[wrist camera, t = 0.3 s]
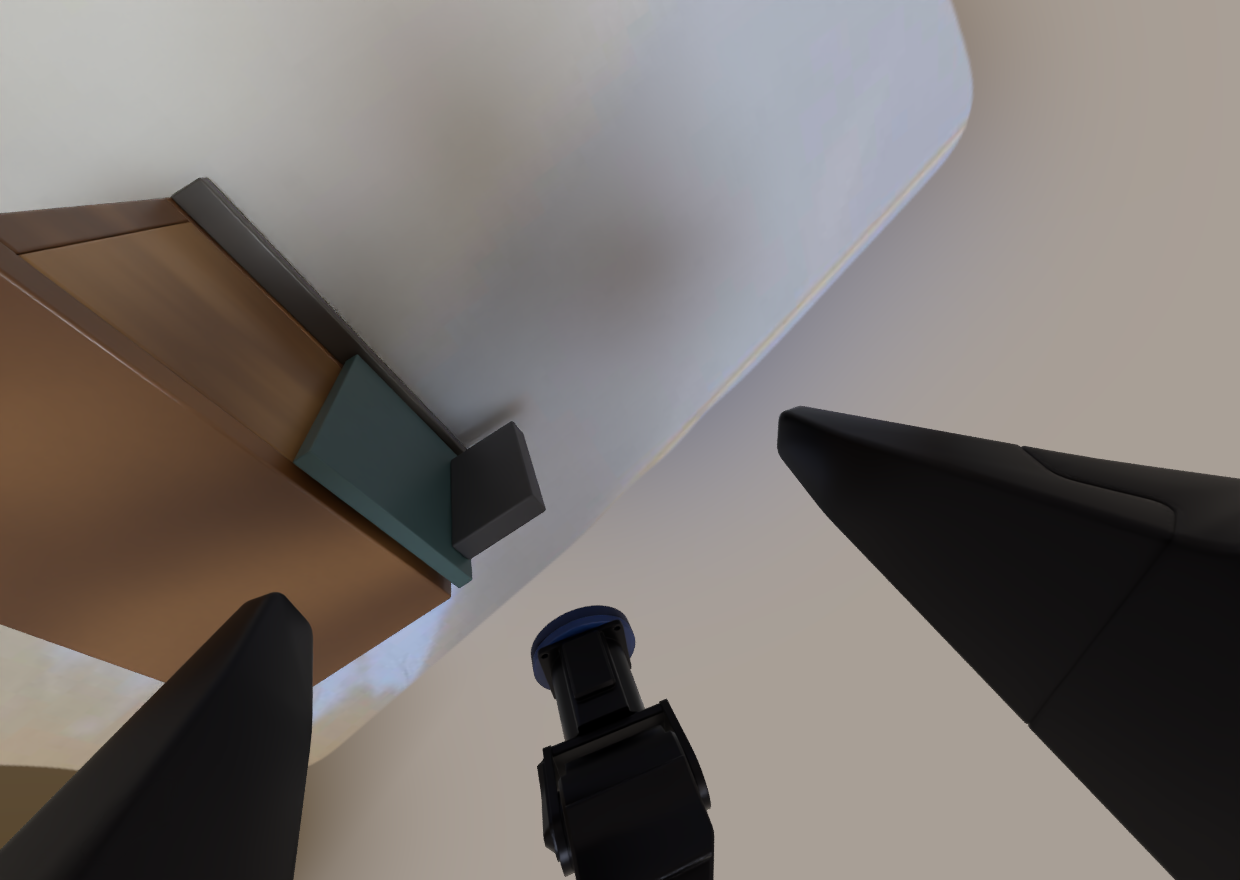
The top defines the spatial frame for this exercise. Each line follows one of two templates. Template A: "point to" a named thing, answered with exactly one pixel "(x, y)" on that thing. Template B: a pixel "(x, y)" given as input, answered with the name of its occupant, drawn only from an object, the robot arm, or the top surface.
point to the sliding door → (418, 474)
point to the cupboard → (178, 440)
